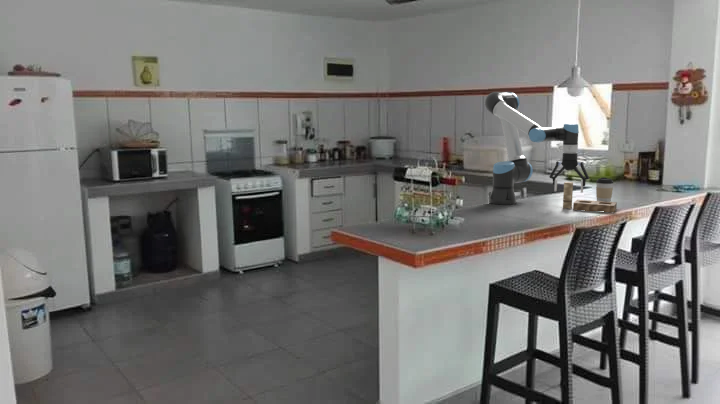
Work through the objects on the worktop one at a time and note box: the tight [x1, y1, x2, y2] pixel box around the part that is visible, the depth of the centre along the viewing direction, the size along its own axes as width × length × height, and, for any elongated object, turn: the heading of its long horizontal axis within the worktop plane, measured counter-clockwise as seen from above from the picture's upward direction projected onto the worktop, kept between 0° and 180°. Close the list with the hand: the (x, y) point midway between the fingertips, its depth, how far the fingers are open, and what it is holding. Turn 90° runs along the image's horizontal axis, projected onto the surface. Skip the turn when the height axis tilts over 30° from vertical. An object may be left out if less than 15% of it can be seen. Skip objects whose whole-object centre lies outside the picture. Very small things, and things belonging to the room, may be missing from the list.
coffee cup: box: [595, 177, 615, 202], centre depth 325 cm, size 9×9×15 cm
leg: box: [562, 181, 574, 210], centre depth 316 cm, size 4×4×14 cm
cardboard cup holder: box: [572, 199, 618, 213], centre depth 310 cm, size 20×12×4 cm, turn 61°
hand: (568, 191), depth 316 cm, fingers open, 13 cm apart
